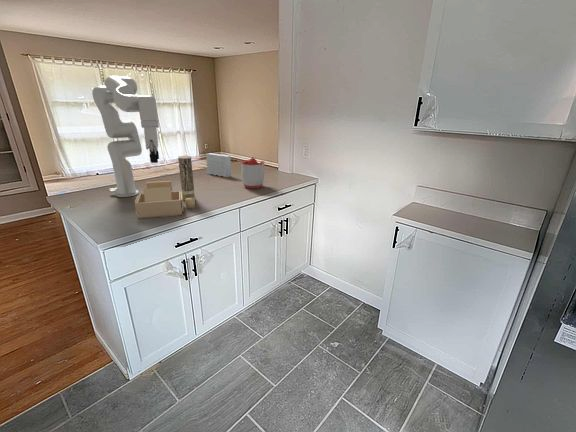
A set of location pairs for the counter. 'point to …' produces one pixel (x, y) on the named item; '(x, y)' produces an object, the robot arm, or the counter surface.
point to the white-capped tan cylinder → (190, 203)
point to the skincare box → (218, 164)
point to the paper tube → (186, 177)
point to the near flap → (157, 194)
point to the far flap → (159, 184)
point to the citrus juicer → (252, 173)
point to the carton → (159, 206)
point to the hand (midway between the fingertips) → (155, 160)
